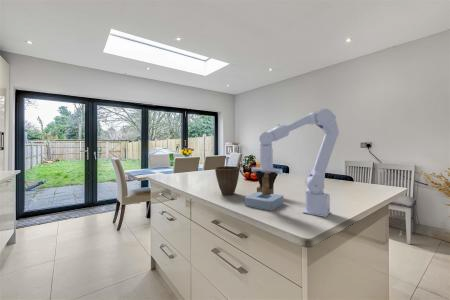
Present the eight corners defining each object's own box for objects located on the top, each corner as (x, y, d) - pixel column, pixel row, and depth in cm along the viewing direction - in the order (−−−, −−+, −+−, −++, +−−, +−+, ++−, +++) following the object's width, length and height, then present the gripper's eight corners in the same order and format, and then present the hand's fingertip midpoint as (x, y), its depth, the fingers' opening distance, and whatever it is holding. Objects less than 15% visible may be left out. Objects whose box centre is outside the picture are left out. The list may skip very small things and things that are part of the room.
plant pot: (214, 197, 117) (213, 169, 116) (216, 191, 132) (216, 166, 131) (240, 197, 116) (240, 169, 116) (239, 191, 131) (239, 166, 131)
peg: (272, 193, 94) (272, 176, 94) (268, 195, 91) (268, 177, 91) (264, 192, 97) (263, 175, 96) (260, 194, 93) (260, 177, 93)
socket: (283, 203, 103) (283, 195, 102) (271, 210, 91) (271, 202, 91) (258, 199, 111) (258, 191, 111) (244, 205, 100) (244, 197, 100)
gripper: (248, 158, 95) (248, 187, 95) (278, 159, 86) (278, 191, 86) (255, 157, 100) (255, 185, 101) (284, 158, 92) (284, 188, 92)
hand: (266, 188), depth 94 cm, fingers closed on peg, 4 cm apart
